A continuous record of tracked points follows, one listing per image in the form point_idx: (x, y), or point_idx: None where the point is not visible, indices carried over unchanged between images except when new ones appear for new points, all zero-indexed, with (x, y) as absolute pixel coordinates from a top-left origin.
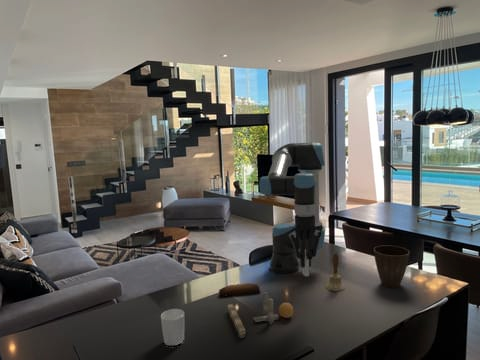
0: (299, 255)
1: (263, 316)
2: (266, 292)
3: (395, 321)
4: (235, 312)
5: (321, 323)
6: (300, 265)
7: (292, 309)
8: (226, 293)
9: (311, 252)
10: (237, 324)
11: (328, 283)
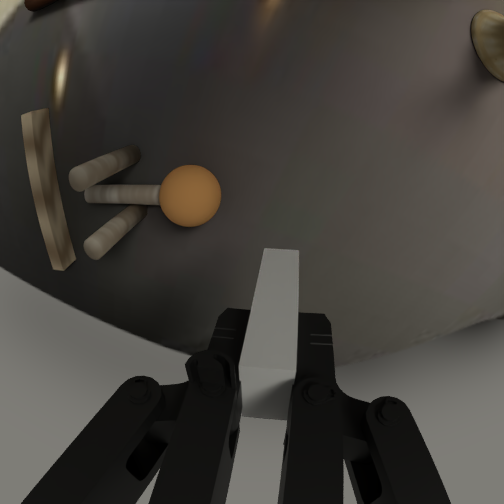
0: (158, 451)
1: (110, 197)
2: (82, 173)
3: (481, 318)
4: (35, 170)
5: (304, 267)
6: (220, 315)
7: (208, 219)
8: (43, 3)
9: (373, 443)
10: (45, 239)
11: (489, 25)
